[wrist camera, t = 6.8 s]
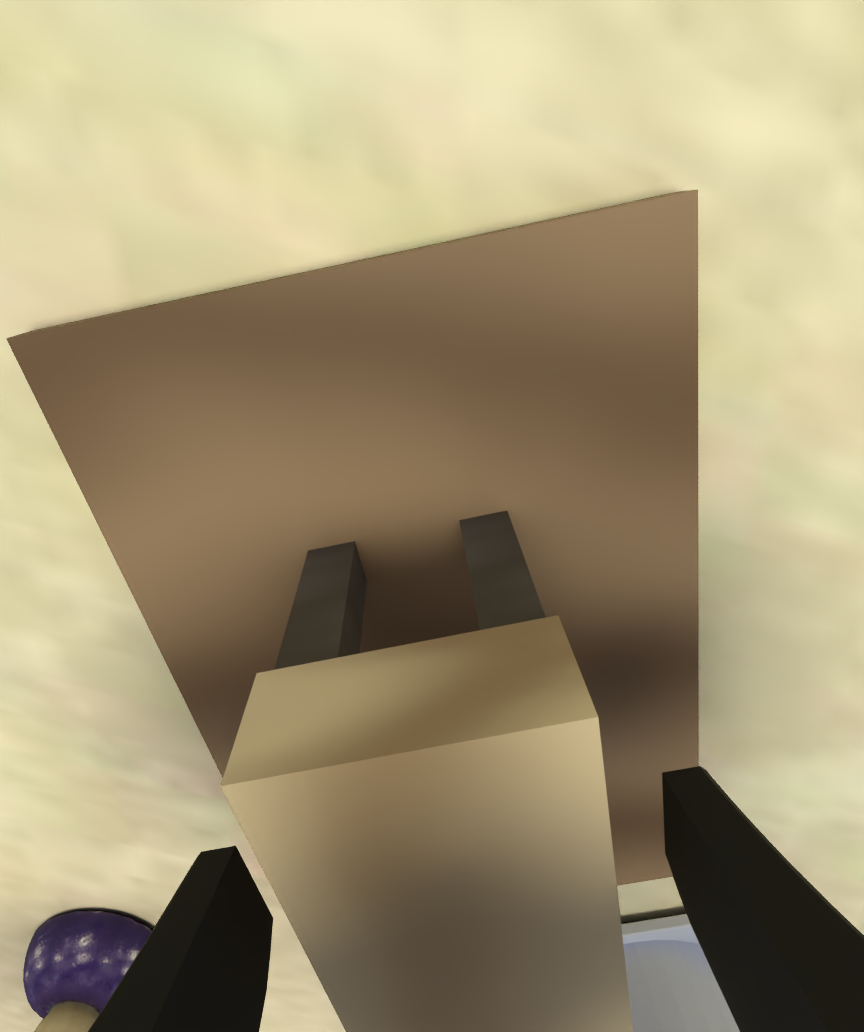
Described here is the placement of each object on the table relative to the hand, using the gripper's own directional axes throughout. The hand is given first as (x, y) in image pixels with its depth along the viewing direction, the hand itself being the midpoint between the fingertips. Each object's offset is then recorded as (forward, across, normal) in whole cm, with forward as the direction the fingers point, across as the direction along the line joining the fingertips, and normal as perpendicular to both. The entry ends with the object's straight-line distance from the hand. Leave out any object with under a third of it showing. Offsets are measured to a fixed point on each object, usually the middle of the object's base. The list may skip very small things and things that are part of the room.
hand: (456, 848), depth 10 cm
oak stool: (+4, 0, 0) cm, 4 cm away
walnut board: (+5, 0, 0) cm, 5 cm away
